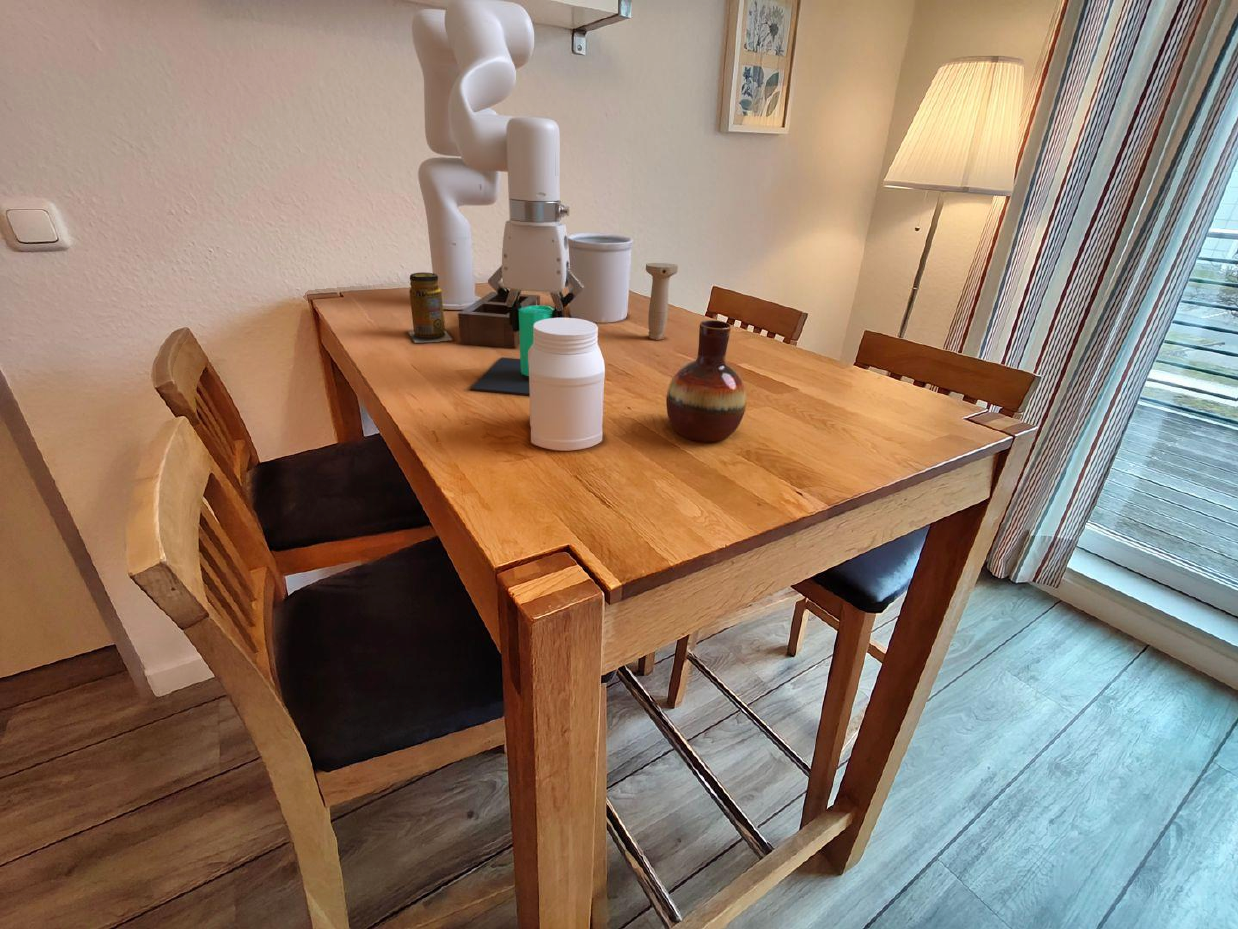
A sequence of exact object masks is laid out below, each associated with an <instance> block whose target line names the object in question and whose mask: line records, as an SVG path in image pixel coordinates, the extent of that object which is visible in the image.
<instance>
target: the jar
mask: <svg viewBox="0 0 1238 929" xmlns="http://www.w3.org/2000/svg"><path fill="white" fill-rule="evenodd" d="M533 332H534V334H533V337H534V338H533V341H534V342H533V344H532V346H531V347H530V349H529V350H528V365H529V390H530V396H529V426H530V443H531V444H532V445H534V446H537V447H539V448H543V449H547V450H552V451H561V452H563V451H565V452H567V451H568V452H569V451H571V452H572V451H580V450H585V449H589V448H592V447H595V446H598V445H599V444H601V442H602V441H603V437H604V436H603V435H604V432H603V419H604V394H605V393H604V392H605V389H604V388H605V377H606V367H605V360H604V357H603V354H602V352H601V348H600V346H599V342H598V341H599V338H598V336H599V327H598V325H597V323H594V322H590V321H587V320H583V319H576V318H573V317H564V318H549V319H544V320H540V321H538V322H536V323H535V324H534V325H533Z"/></svg>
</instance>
